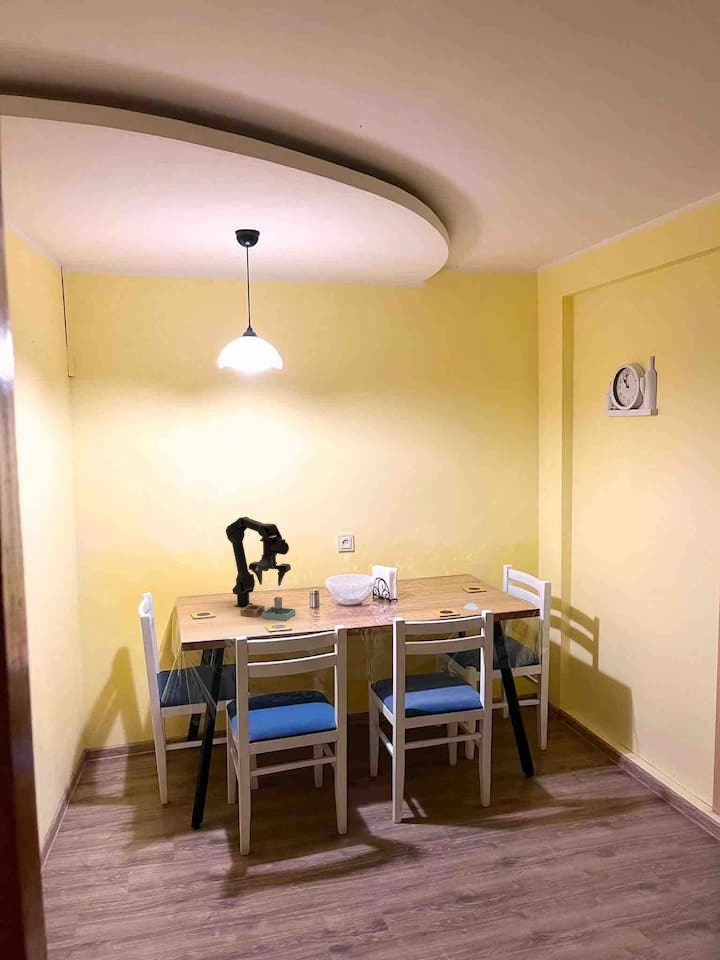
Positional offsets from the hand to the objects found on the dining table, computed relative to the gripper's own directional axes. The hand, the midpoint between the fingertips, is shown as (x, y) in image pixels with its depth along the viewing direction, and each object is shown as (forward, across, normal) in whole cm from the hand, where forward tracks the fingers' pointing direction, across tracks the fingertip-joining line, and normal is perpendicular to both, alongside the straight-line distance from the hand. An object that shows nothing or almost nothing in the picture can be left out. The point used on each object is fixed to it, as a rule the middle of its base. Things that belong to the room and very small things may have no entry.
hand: (269, 585), depth 302 cm
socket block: (+13, -7, -4) cm, 15 cm away
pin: (+12, +6, -4) cm, 14 cm away
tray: (+13, +6, -4) cm, 15 cm away
